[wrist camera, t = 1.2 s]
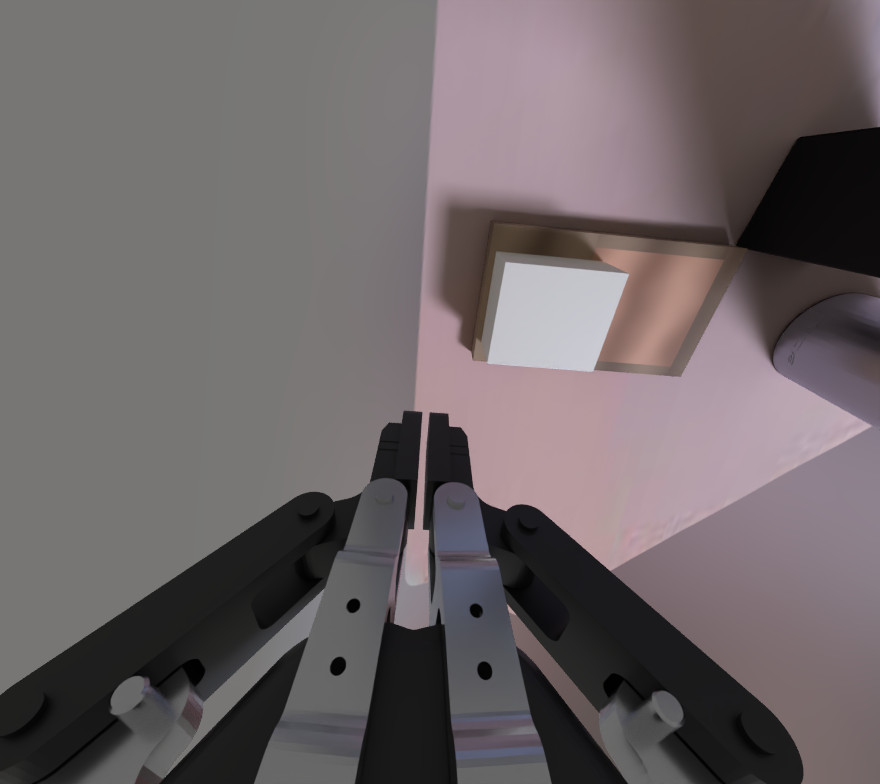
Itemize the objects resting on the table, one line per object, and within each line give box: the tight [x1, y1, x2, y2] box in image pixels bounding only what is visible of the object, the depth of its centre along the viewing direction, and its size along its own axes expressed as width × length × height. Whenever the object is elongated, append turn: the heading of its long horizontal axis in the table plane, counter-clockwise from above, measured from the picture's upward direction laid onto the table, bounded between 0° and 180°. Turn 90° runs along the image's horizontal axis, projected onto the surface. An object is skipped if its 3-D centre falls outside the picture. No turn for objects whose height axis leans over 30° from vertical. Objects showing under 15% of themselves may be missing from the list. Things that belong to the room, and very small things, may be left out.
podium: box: [471, 221, 748, 377], centre depth 31 cm, size 21×12×2 cm, turn 85°
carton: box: [481, 251, 629, 372], centre depth 28 cm, size 9×8×4 cm
